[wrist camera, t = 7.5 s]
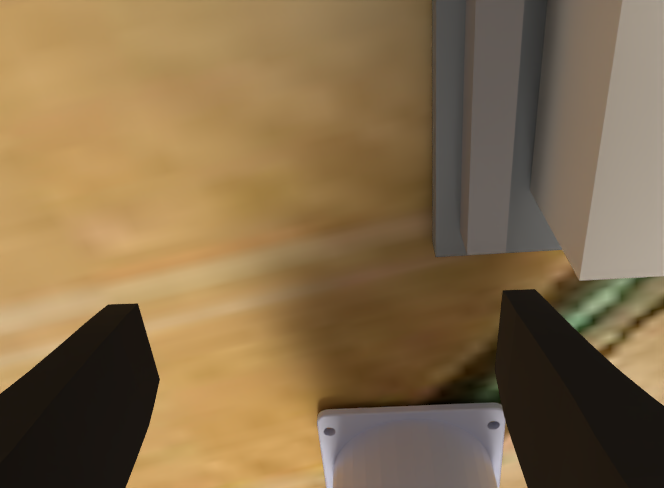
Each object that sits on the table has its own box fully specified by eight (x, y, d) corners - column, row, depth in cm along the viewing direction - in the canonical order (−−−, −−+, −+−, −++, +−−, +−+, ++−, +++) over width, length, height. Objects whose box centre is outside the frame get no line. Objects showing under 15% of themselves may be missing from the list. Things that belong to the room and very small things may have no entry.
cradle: (722, 224, 21) (763, 264, 19) (432, 242, 22) (441, 282, 20) (911, -435, 13) (1024, -495, 11) (431, -373, 13) (446, -417, 11)
